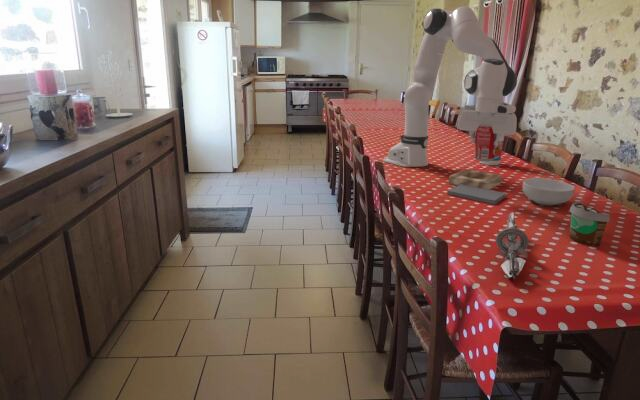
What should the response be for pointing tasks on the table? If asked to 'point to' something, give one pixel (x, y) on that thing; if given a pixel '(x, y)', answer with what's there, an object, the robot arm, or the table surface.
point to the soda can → (485, 144)
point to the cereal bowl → (547, 191)
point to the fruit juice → (496, 154)
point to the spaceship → (512, 247)
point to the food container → (587, 224)
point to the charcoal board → (477, 194)
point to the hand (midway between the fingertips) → (484, 144)
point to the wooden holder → (475, 179)
